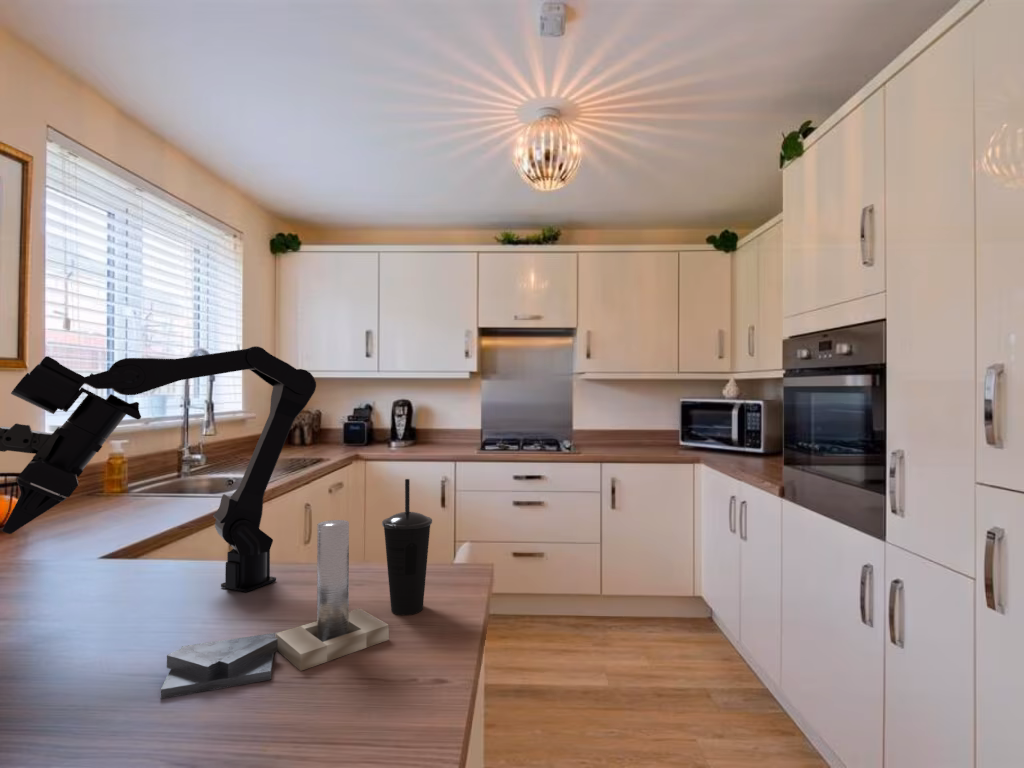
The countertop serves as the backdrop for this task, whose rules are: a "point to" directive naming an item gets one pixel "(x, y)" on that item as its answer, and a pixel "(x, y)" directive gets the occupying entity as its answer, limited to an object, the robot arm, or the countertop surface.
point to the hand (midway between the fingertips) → (9, 526)
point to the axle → (332, 579)
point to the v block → (219, 664)
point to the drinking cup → (407, 557)
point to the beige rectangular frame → (311, 651)
